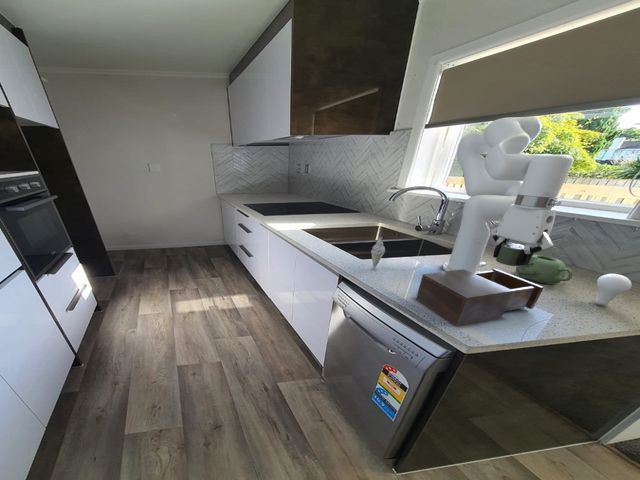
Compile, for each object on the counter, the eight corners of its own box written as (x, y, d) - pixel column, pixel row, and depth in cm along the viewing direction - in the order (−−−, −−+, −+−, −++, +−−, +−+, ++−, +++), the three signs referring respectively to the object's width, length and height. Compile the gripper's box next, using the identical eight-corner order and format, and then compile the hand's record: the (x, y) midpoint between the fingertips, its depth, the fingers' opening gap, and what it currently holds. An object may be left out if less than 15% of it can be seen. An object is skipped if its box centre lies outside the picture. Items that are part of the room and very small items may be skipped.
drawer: (496, 286, 89) (504, 267, 86) (543, 306, 77) (554, 285, 74) (452, 292, 85) (459, 272, 82) (494, 315, 73) (504, 293, 70)
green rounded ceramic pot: (504, 270, 102) (513, 251, 99) (535, 270, 102) (545, 251, 99) (546, 290, 88) (557, 268, 84) (582, 290, 87) (595, 268, 84)
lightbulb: (579, 300, 82) (596, 270, 77) (595, 299, 82) (613, 270, 78) (604, 310, 76) (625, 280, 72) (621, 309, 76) (643, 279, 72)
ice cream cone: (382, 272, 102) (389, 238, 96) (369, 271, 103) (375, 238, 97) (378, 267, 107) (385, 234, 101) (366, 266, 108) (372, 234, 102)
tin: (504, 258, 78) (511, 242, 76) (526, 265, 73) (533, 248, 71) (490, 259, 77) (497, 243, 75) (511, 267, 72) (518, 249, 70)
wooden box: (455, 293, 86) (463, 269, 83) (501, 318, 73) (513, 290, 69) (415, 299, 83) (422, 274, 79) (456, 326, 70) (467, 297, 66)
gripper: (587, 207, 61) (554, 271, 68) (509, 197, 77) (488, 250, 83) (565, 208, 60) (534, 274, 66) (490, 198, 75) (471, 252, 82)
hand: (509, 260), depth 75 cm, fingers closed on tin, 5 cm apart
